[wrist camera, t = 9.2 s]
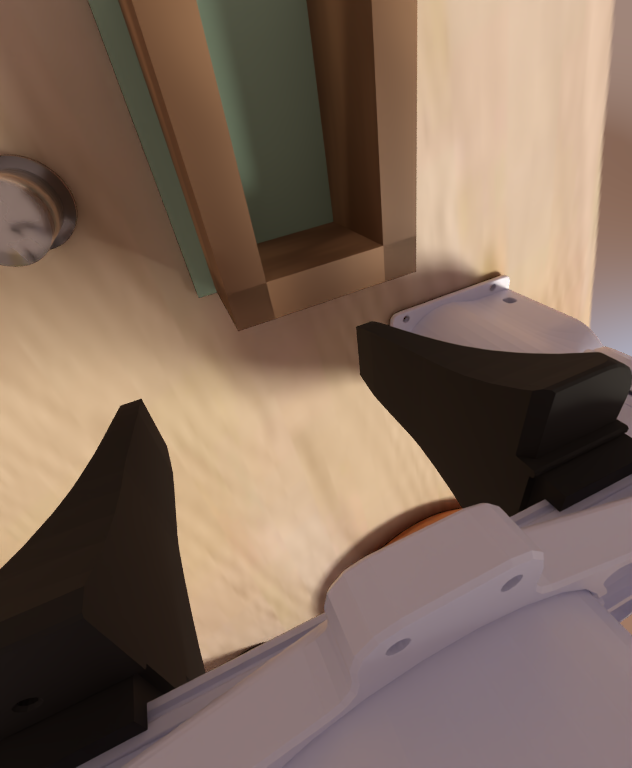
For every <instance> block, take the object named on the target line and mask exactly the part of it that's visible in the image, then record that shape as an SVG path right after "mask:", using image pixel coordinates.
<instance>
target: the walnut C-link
mask: <svg viewBox="0 0 632 768" xmlns="http://www.w3.org/2000/svg"><path fill="white" fill-rule="evenodd" d="M306 1H307V9H308V18H309V26H310V34H311V42H312V50H313V58H314V67H315V75H316V83H317V91H318V99H319V107H320V116H321V124H322V132H323V140H324V148H325V157H326V165H327V173H328V181H329V189H330V197H331V206H332V214H333V222H331V223H327V224H324V225H320V226H317V227H313V228H310V229H306V230H303V231H299V232H296V233H292V234H289V235H285V236H282V237H278V238H275V239H272V240H268V241H265V242H261V243H258V244H257V243H256V239H255V235H254V231H253V227H252V223H251V219H250V215H249V211H248V207H247V203H246V199H245V195H244V191H243V187H242V183H241V179H240V175H239V170H238V166H237V162H236V158H235V154H234V150H233V146H232V142H231V138H230V134H229V130H228V126H227V122H226V118H225V114H224V110H223V106H222V102H221V98H220V94H219V90H218V86H217V82H216V78H215V74H214V70H213V66H212V62H211V58H210V54H209V50H208V46H207V42H206V38H205V34H204V30H203V26H202V22H201V18H200V14H199V10H198V6H197V2H196V0H118V2H119V5H120V8H121V11H122V14H123V17H124V20H125V23H126V26H127V29H128V32H129V35H130V37H131V40H132V43H133V46H134V49H135V52H136V55H137V58H138V61H139V64H140V67H141V70H142V73H143V76H144V79H145V82H146V85H147V88H148V91H149V94H150V97H151V100H152V103H153V105H154V108H155V111H156V114H157V117H158V120H159V123H160V126H161V129H162V132H163V135H164V138H165V141H166V144H167V147H168V150H169V153H170V156H171V159H172V162H173V165H174V168H175V171H176V173H177V176H178V179H179V182H180V185H181V188H182V191H183V194H184V197H185V200H186V203H187V206H188V209H189V212H190V215H191V218H192V221H193V224H194V227H195V230H196V233H197V236H198V239H199V241H200V244H201V247H202V250H203V253H204V256H205V259H206V262H207V265H208V268H209V271H210V274H211V277H212V280H213V283H214V286H215V289H216V291H217V293H218V295H219V296H220V298H221V300H222V302H223V304H224V306H225V307H226V309H227V311H228V313H229V315H230V317H231V318H232V320H233V322H234V324H235V326H236V328H237V329H238V331H240V330H243V329H246V328H249V327H252V326H255V325H258V324H261V323H264V322H267V321H270V320H273V319H276V318H279V317H282V316H285V315H288V314H291V313H294V312H297V311H300V310H303V309H306V308H309V307H312V306H315V305H318V304H321V303H324V302H327V301H330V300H333V299H336V298H339V297H342V296H344V295H347V294H350V293H353V292H356V291H359V290H362V289H365V288H368V287H371V286H374V285H377V284H380V283H383V282H386V281H389V280H392V279H395V278H398V277H401V276H404V275H407V274H410V273H413V272H416V151H417V0H306Z"/></svg>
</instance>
